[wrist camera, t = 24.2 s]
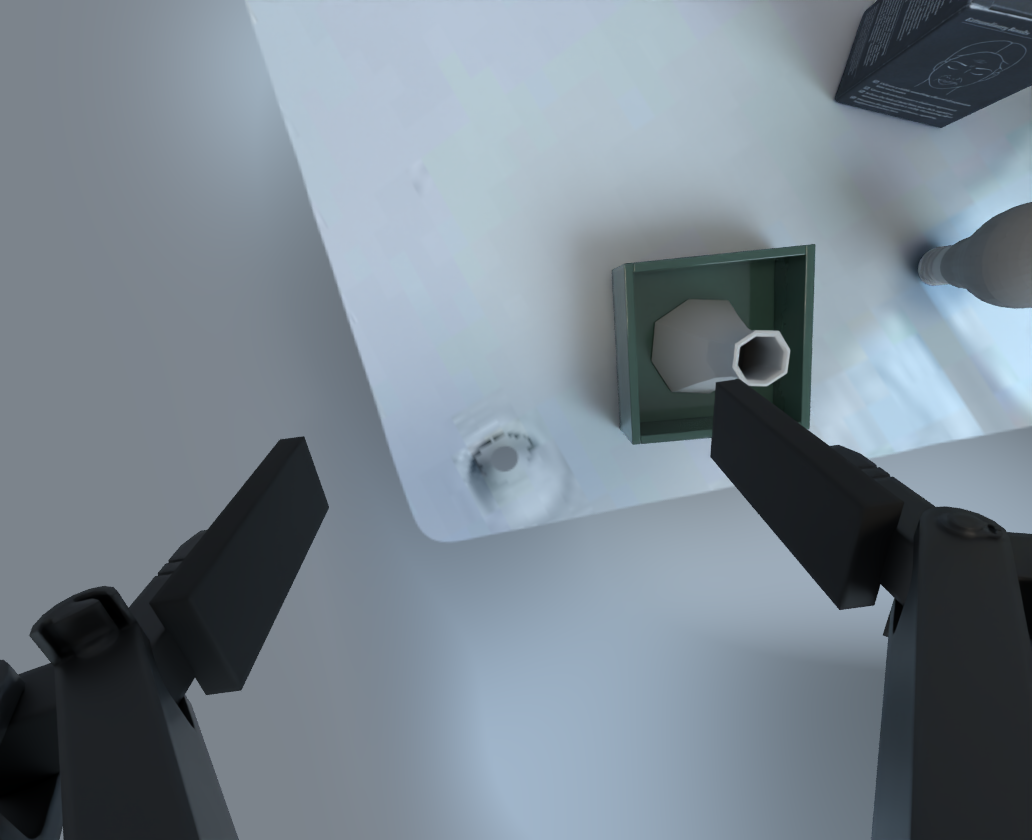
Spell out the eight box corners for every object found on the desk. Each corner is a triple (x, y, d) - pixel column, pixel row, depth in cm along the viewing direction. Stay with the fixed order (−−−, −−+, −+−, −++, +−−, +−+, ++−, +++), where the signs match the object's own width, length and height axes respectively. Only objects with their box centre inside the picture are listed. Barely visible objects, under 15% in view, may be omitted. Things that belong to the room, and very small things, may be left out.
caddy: (620, 429, 38) (632, 444, 34) (611, 269, 36) (623, 263, 31) (776, 416, 38) (809, 429, 33) (779, 252, 35) (815, 243, 31)
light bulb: (881, 242, 35) (1019, 214, 25) (965, 210, 34) (1141, 168, 24) (898, 321, 36) (1036, 324, 26) (980, 291, 35) (1153, 283, 26)
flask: (736, 284, 35) (817, 272, 25) (755, 379, 37) (838, 402, 27) (639, 313, 36) (682, 313, 26) (661, 405, 37) (709, 438, 27)
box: (974, 39, 32) (1188, -93, 22) (938, 130, 33) (1125, 47, 23) (861, 9, 32) (1024, -139, 21) (830, 102, 33) (969, 5, 23)
